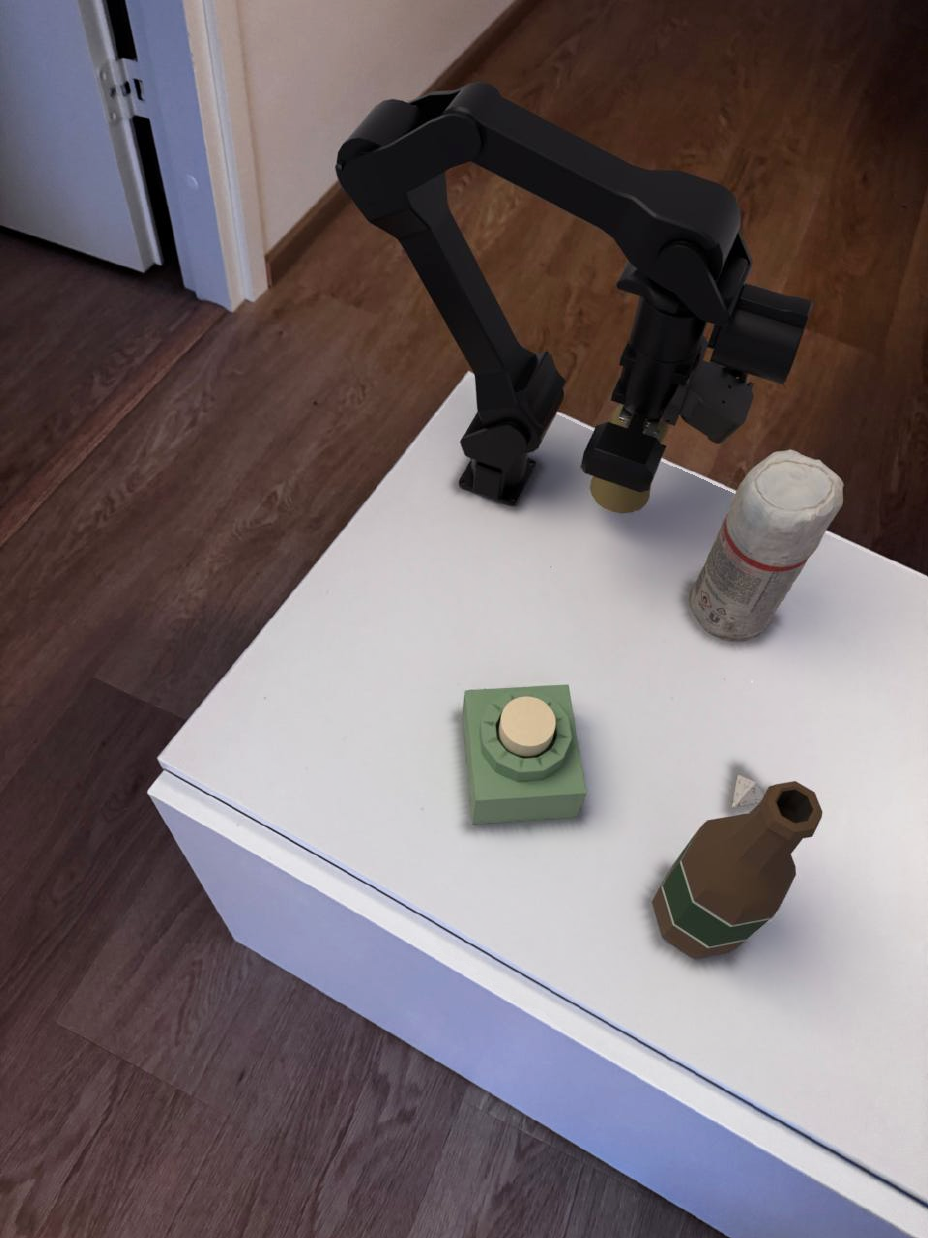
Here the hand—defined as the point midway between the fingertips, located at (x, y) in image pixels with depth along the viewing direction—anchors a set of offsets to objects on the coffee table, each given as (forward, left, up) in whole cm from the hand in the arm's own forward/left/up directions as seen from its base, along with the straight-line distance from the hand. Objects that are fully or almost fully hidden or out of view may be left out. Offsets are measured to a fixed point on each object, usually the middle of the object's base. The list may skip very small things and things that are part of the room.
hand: (629, 464), depth 93 cm
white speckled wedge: (+24, +20, -9) cm, 32 cm away
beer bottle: (+36, +19, -8) cm, 42 cm away
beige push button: (+30, +1, -1) cm, 30 cm away
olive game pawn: (0, 0, -4) cm, 4 cm away
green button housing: (+30, +1, -8) cm, 31 cm away
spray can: (+6, +14, -8) cm, 17 cm away
